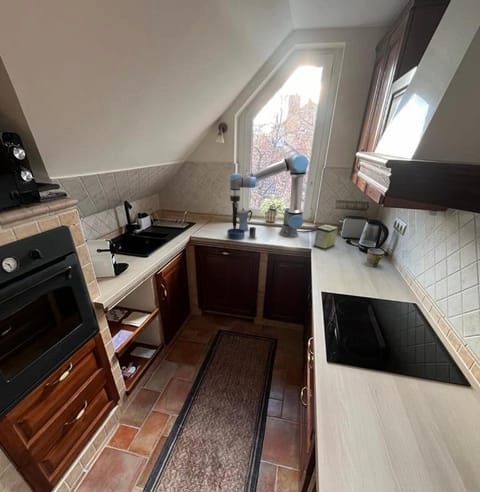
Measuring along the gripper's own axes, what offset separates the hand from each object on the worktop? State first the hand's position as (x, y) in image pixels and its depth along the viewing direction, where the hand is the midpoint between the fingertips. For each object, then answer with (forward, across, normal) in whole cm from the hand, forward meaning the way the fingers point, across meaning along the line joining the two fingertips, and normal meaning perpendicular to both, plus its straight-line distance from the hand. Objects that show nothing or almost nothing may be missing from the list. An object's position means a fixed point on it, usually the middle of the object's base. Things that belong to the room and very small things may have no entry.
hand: (234, 225), depth 208 cm
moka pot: (+12, -22, +11) cm, 27 cm away
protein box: (+12, +22, +70) cm, 75 cm away
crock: (+11, 0, +15) cm, 19 cm away
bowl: (+11, -2, +1) cm, 12 cm away
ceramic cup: (+12, +60, +90) cm, 108 cm away
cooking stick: (+9, 0, 0) cm, 9 cm away
